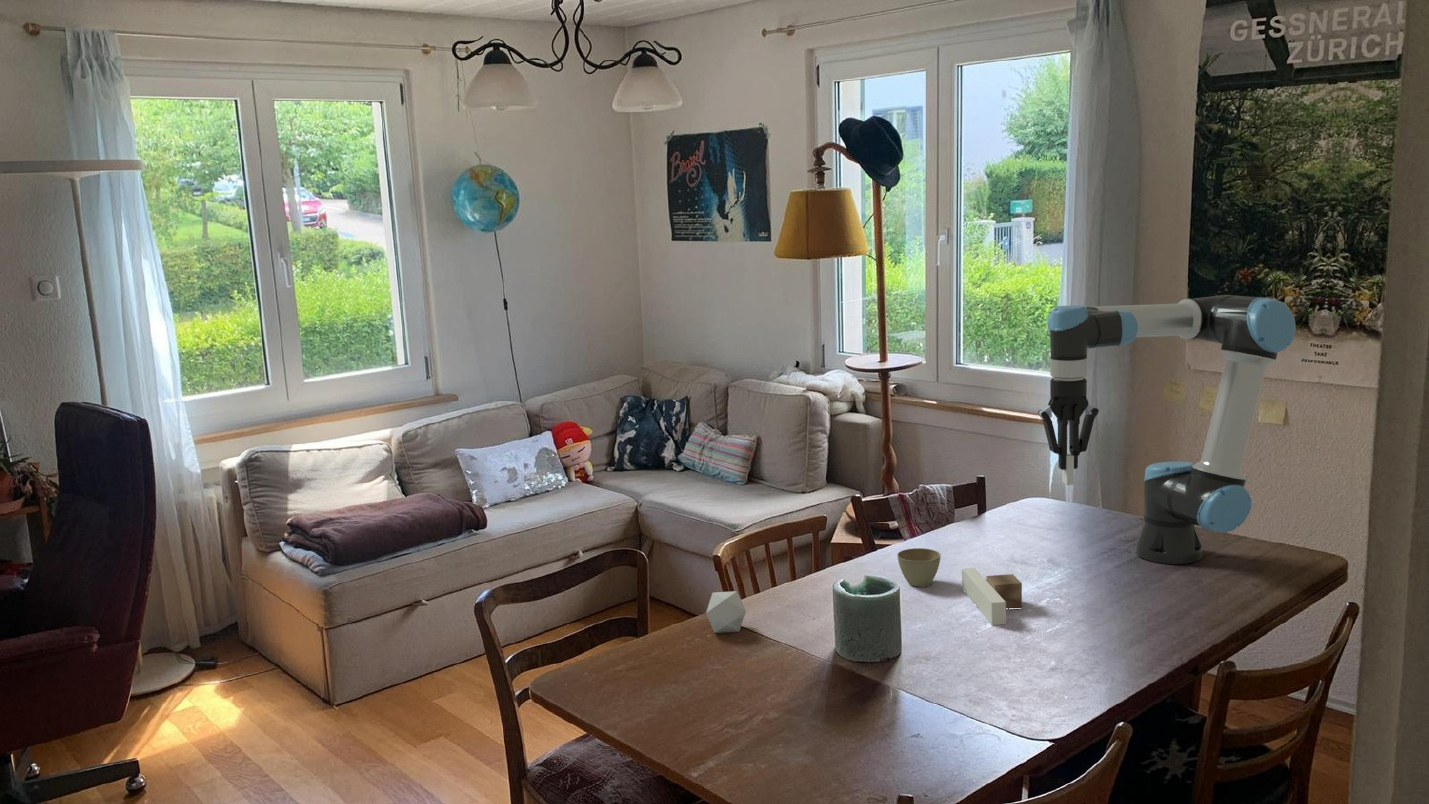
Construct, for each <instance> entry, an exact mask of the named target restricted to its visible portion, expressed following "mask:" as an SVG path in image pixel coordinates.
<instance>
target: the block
mask: <svg viewBox="0 0 1429 804" xmlns="http://www.w3.org/2000/svg"><path fill="white" fill-rule="evenodd" d="M985 577H986V578H985V580H986V581H987V582H988V583H989V584H990V585H991V586H992V587H993V588H994V589H995V591H996V592H997V593H998V594H999V595H1000V596H1001V597H1002V598H1003V600H1004V601H1005V602H1006V608H1008V609H1009V608H1021V607H1023V605H1022V604H1023V603H1022V602H1023V600H1022V599H1023V597H1022V594H1023V593H1022V590H1023V584H1022V582H1021V580H1019V579H1018V578H1017V577H1016V575H1014V573H1013V574H1012V573H1011V574H1010V573H1009V574H995V575H994V574H993V575H986V576H985Z"/></svg>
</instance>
